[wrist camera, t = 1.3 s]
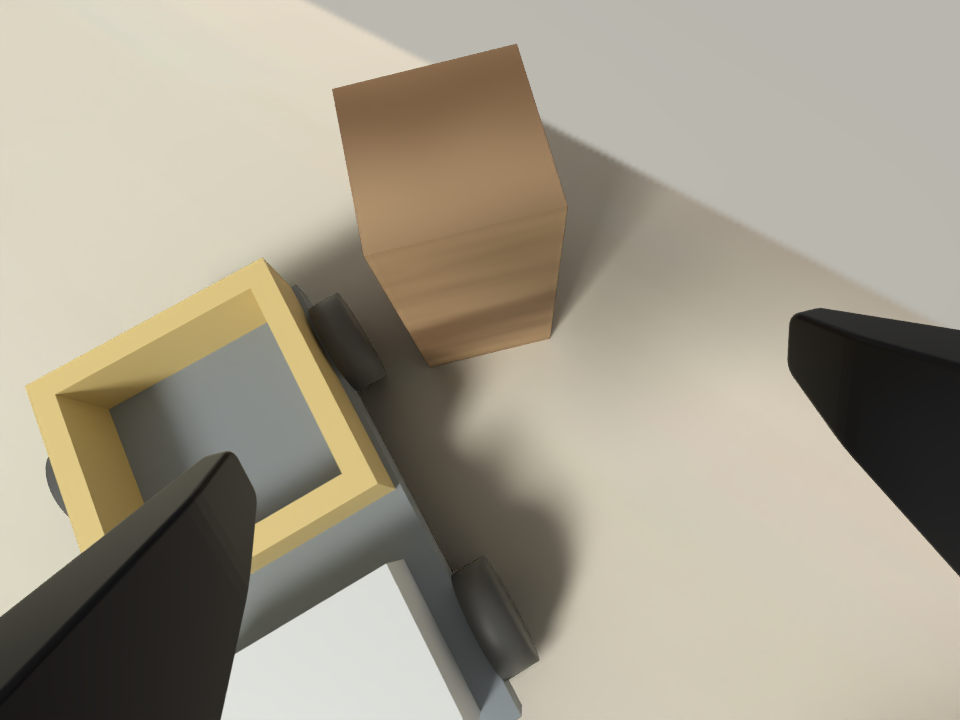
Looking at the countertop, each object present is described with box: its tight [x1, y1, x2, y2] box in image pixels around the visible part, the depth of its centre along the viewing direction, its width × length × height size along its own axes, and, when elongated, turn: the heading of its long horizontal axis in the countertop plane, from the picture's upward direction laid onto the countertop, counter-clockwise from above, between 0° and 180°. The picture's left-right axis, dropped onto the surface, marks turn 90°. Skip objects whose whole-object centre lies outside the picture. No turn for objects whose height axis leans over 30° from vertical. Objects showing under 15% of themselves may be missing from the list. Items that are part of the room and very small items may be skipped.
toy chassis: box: [25, 258, 539, 720], centre depth 19 cm, size 16×11×5 cm
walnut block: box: [332, 44, 568, 367], centre depth 19 cm, size 5×5×10 cm
